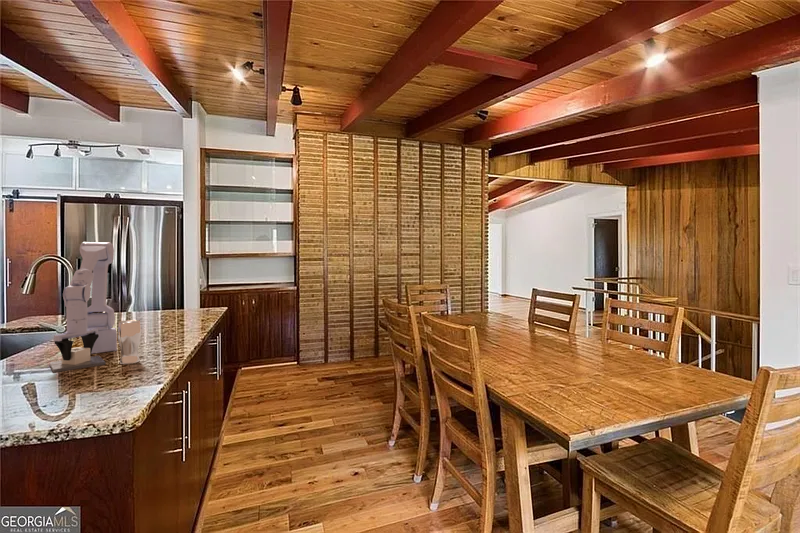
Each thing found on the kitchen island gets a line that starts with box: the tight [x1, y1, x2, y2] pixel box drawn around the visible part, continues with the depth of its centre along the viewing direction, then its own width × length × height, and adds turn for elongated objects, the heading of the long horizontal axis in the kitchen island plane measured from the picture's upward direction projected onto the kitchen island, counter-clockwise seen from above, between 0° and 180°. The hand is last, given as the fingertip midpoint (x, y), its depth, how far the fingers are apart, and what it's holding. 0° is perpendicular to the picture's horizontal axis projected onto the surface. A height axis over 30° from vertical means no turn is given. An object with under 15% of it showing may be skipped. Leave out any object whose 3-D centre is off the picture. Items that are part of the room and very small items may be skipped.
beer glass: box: [117, 319, 142, 365], centre depth 145 cm, size 7×7×15 cm
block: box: [61, 346, 91, 365], centre depth 141 cm, size 6×6×4 cm
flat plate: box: [49, 355, 106, 373], centre depth 141 cm, size 14×12×4 cm
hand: (77, 357), depth 141 cm, fingers open, 7 cm apart
